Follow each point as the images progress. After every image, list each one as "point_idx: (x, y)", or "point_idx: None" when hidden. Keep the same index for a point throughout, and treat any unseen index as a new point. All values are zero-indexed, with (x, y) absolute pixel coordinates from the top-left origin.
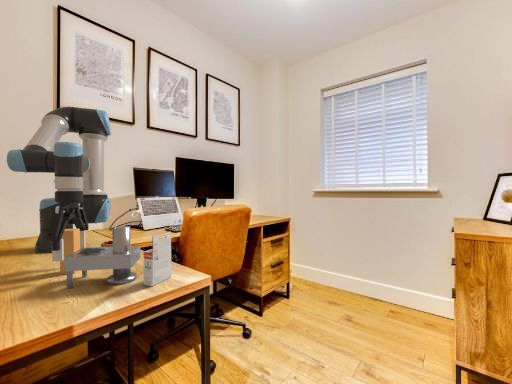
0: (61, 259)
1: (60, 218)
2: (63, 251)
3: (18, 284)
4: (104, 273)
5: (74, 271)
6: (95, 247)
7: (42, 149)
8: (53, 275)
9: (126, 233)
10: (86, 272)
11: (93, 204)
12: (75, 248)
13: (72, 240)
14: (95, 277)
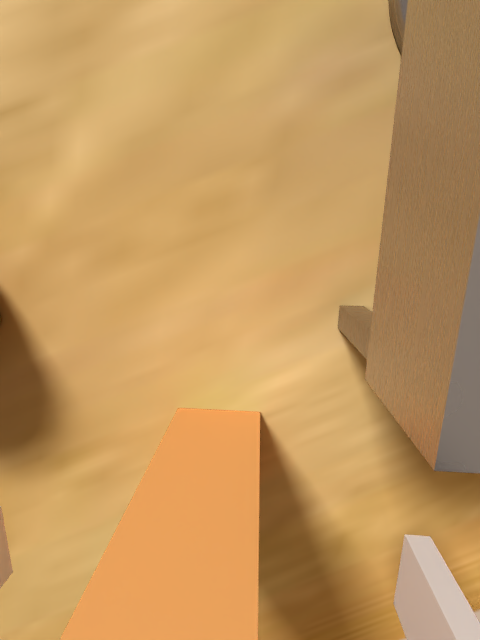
0: (437, 554)
1: None
2: (455, 637)
3: (384, 602)
4: (299, 202)
5: (254, 418)
6: (478, 259)
7: None
8: (270, 509)
9: None
10: (358, 312)
11: None
12: (213, 572)
13: None
14: (379, 236)
